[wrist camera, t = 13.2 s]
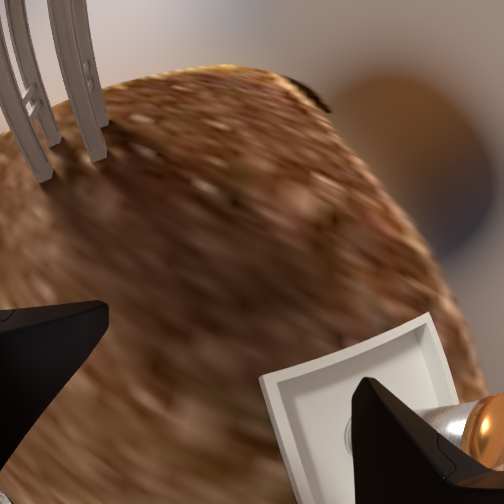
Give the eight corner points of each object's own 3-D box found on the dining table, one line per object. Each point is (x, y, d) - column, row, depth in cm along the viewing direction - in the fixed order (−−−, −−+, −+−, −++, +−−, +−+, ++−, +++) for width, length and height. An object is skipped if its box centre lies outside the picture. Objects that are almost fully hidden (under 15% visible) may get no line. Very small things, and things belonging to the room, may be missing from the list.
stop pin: (338, 464, 16) (453, 506, 4) (349, 397, 19) (474, 372, 7) (398, 459, 16) (520, 469, 4) (407, 397, 19) (531, 365, 7)
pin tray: (308, 533, 13) (318, 546, 10) (258, 378, 20) (262, 375, 18) (449, 453, 16) (469, 454, 13) (411, 322, 23) (428, 311, 21)
